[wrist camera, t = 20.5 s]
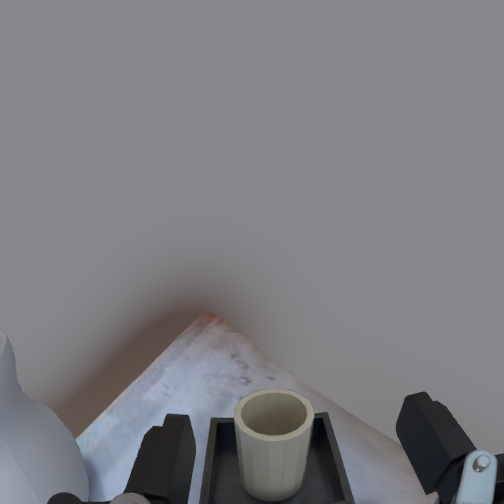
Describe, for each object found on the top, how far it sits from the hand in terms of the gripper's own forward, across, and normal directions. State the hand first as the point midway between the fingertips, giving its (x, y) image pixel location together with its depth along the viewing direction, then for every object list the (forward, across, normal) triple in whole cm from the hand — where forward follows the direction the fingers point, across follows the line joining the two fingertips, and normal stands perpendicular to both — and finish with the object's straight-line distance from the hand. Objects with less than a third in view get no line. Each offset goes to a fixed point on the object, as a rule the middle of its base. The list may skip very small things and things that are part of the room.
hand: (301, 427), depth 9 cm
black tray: (+11, 0, +21) cm, 24 cm away
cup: (+11, 0, +21) cm, 24 cm away
